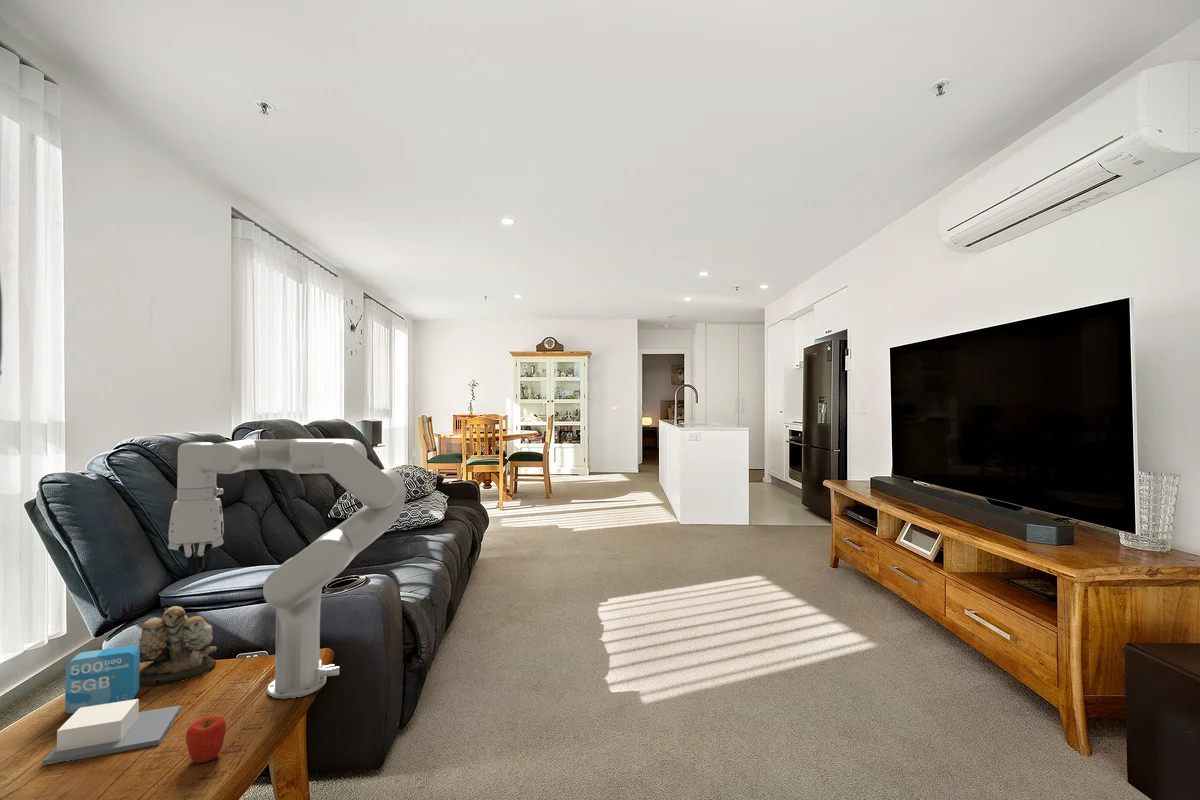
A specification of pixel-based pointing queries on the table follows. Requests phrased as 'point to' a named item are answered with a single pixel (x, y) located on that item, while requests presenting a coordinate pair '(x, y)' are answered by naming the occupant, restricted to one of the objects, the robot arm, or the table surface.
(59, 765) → the table surface
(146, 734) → the board
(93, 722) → the slab
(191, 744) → the apple
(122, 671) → the data package
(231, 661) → the table surface
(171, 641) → the owl figurine
